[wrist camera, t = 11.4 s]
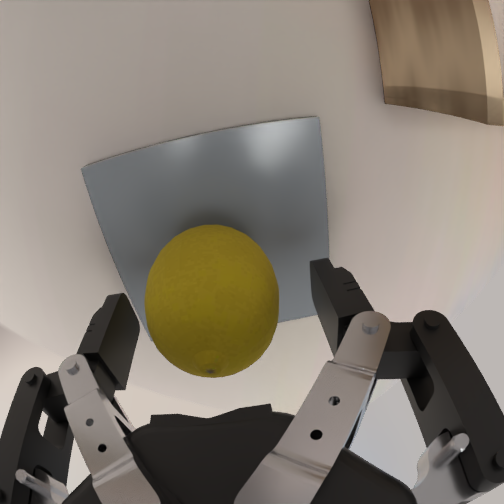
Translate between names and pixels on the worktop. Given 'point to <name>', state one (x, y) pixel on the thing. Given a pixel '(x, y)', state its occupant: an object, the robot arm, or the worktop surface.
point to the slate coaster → (219, 201)
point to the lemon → (212, 301)
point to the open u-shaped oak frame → (440, 57)
